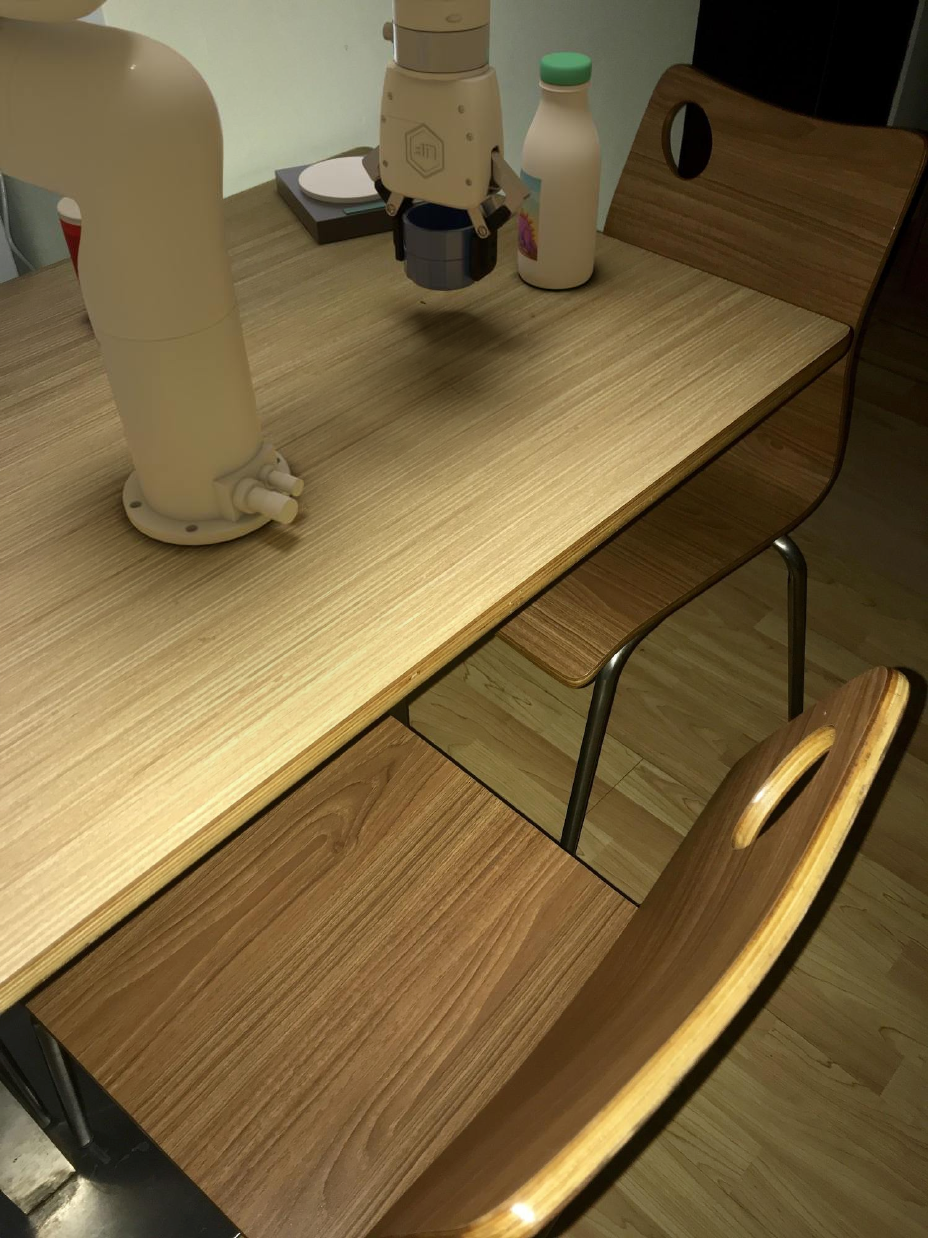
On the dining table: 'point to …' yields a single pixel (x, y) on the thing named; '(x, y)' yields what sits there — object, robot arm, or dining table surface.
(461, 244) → the cup
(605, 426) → the dining table surface
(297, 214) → the kitchen scale
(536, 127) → the milk bottle
